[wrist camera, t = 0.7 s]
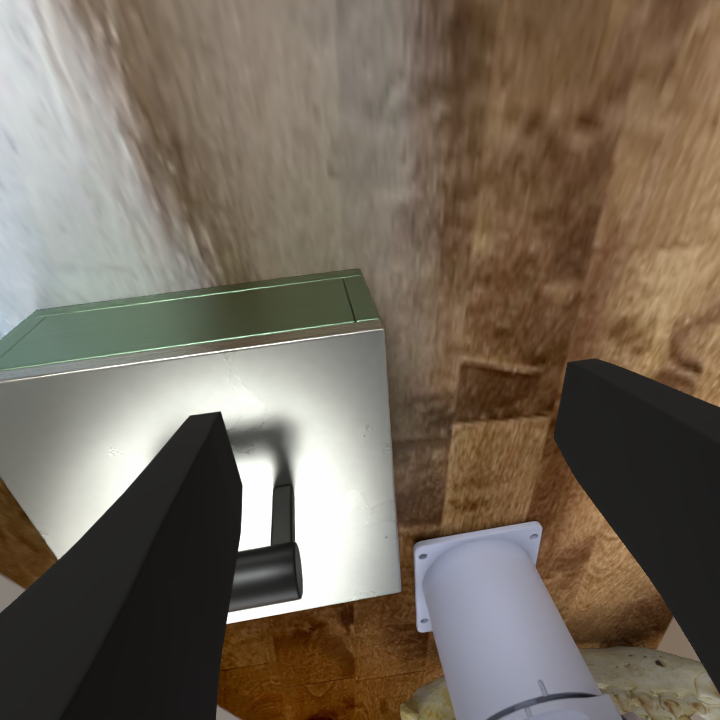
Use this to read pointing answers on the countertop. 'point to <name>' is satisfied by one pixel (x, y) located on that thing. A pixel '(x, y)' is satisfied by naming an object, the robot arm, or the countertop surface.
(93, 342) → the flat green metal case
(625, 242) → the countertop surface
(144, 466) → the bin lid
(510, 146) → the countertop surface
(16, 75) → the countertop surface
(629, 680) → the jawbone
